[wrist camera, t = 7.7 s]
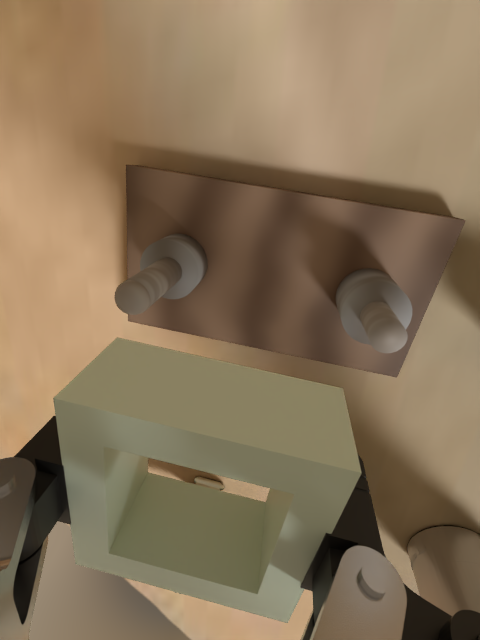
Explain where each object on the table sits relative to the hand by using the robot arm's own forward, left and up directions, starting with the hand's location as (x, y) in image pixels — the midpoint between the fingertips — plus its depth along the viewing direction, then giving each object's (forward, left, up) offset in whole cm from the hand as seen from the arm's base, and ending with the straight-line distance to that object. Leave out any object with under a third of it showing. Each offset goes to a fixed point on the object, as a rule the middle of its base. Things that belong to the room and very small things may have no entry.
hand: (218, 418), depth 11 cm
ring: (0, 0, +1) cm, 1 cm away
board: (0, +1, -20) cm, 20 cm away
